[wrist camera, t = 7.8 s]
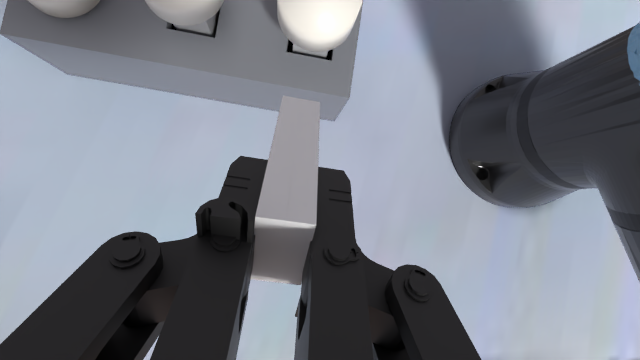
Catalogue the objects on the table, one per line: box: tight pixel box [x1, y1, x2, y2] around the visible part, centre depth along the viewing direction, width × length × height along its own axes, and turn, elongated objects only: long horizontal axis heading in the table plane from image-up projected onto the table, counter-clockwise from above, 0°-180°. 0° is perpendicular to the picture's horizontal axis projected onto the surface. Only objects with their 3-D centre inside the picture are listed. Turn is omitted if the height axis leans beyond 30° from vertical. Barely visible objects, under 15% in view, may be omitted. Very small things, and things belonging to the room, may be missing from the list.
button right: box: [277, 0, 363, 59], centre depth 26 cm, size 6×6×8 cm
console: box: [0, 0, 363, 121], centre depth 31 cm, size 28×14×8 cm, turn 81°
